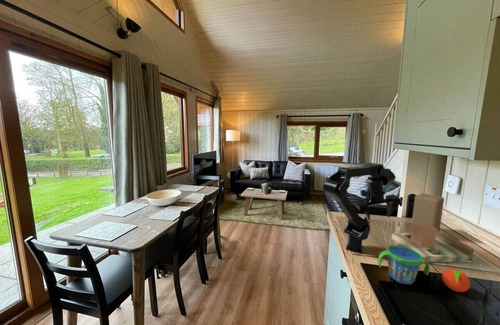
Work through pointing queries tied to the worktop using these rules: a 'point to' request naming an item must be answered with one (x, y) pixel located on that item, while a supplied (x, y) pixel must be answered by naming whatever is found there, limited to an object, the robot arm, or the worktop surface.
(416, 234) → the terracotta block
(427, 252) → the beige flat square piece
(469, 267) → the worktop surface
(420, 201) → the wooden block
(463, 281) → the clementine
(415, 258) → the snack cup
